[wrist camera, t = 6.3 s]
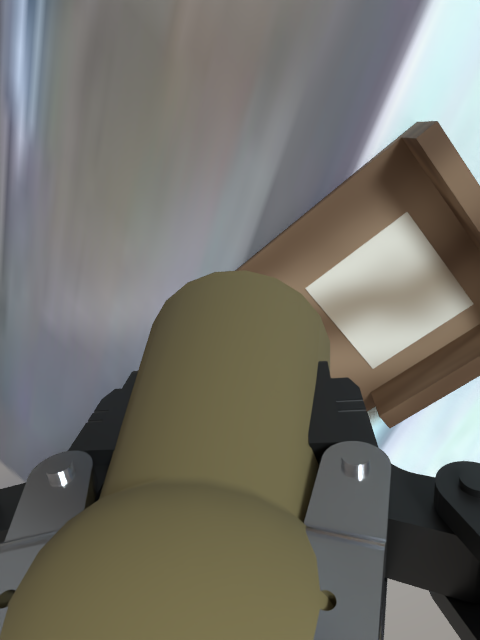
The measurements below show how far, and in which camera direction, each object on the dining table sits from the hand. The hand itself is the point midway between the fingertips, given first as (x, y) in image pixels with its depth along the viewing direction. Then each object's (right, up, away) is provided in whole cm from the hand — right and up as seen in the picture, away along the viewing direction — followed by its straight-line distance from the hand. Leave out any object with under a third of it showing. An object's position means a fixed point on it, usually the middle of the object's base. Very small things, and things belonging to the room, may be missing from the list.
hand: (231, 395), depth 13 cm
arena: (+8, +3, +17) cm, 19 cm away
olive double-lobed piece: (0, +1, +2) cm, 2 cm away
